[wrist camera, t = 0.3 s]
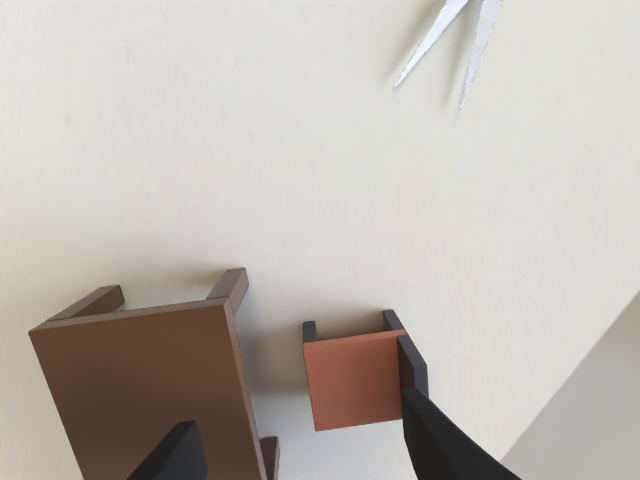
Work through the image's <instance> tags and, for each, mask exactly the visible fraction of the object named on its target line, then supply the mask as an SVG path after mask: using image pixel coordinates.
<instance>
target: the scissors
mask: <svg viewBox="0 0 640 480" xmlns="http://www.w3.org/2000/svg"><path fill="white" fill-rule="evenodd" d="M468 1H469V0H447V1H446V3H445V5H444V6H443V8H442V9H441V11H440V13H439V14H438V16H437V18H436V19H435V21H434V23H433V24H432V26H431V27H430V29H429V31H428V32H427V34H426V35H425V37H424V39H423V40H422V42H421V43H420V45H419V46H418V48H417V50H416V51H415V53H414V54H413V56H412V57H411V59H410V60H409V62H408V64H407V66H406V67H405V69H404V71H403V73H402V74H401V76H400V78H399V80H398V81H397V83H396V85H395V87H396V86H397V85H398V84H399V82H400V81H401V80H402V79H403V78H404V77H405V75H406V74H407V73H408V72H409V71H410V70H411V68H412V67H413V66H414V65H415V64H416V63H417V61H418V60H419V59H420V58H421V57H422V56H423V54H424V53H425V52H426V51H427V50H428V49H429V47H430V46H431V45H432V44H433V43H434V42H435V40H436V39H437V38H438V37H439V36H440V35H441V33H442V32H443V31H444V30H445V28H446V27H447V26H448V25H449V23H450V22H451V21H452V20H453V18H454V17H455V16H456V15H457V13H458V12H459V11H460V10H461V9H462V8H463V7H464V5H465V4H466V3H467V2H468ZM502 2H503V0H483V3H482V7H481V12H480V16H479V21H478V25H477V30H476V35H475V40H474V45H473V49H472V54H471V59H470V64H469V69H468V74H467V79H466V84H465V88H464V93H463V98H462V103H461V108H460V113H461V111H462V108H463V105H464V103H465V100H466V98H467V95H468V92H469V90H470V87H471V84H472V82H473V79H474V76H475V74H476V71H477V68H478V66H479V63H480V61H481V58H482V55H483V53H484V50H485V47H486V45H487V42H488V39H489V37H490V34H491V31H492V29H493V26H494V23H495V21H496V18H497V15H498V13H499V10H500V7H501V5H502ZM395 87H394V88H395ZM394 88H393V89H394ZM392 91H393V90H392ZM460 113H459V116H460ZM458 119H459V118H458Z"/></svg>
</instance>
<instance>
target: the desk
mask: <svg viewBox="0 0 640 480" xmlns="http://www.w3.org/2000/svg"><path fill="white" fill-rule="evenodd" d="M248 286H249V284H248V279H247V274H246V269H245V268H240V269H232V270H227V271H226V272H225V273H224V275H223V276H222V277H221V279H220V280H219V281H218V283H217V284H216V286H215V287H214V288H213V290H212V291H211V292H210V294H209V295H208V296H207V298H206V300H201V301H193V302H186V303H179V304H171V305H164V306H157V307H150V308H142V309H135V310H128V311H120V312H113V313H111V312H112V311H114V310H115V309H116V308H118V307H119V306H120V305H121V304H123V303H124V299H123V296H122V292H121V289H120V286H119V285H115V286H107V287H101V288H99V289H97V290H96V291H94V292H92V293H91V294H89V295H87V296H86V297H84V298H82V299H81V300H79V301H78V302H76V303H74V304H73V305H71V306H69V307H68V308H66V309H64V310H63V311H61V312H59V313H58V314H56V315H54V316H53V317H51V318H49V319H48V320H46V321H45V322H43V323H42V324H40V325H38V326H37V327H35V328H33V329H32V330H30V331H29V332H28V334H29V336H30V339H31V342H32V344H33V347H34V350H35V352H36V355H37V358H38V360H39V363H40V365H41V368H42V371H43V373H44V376H45V379H46V381H47V384H48V386H49V389H50V392H51V394H52V397H53V400H54V402H55V405H56V407H57V410H58V413H59V415H60V418H61V421H62V423H63V426H64V429H65V431H66V434H67V436H68V439H69V442H70V444H71V447H72V450H73V452H74V455H75V457H76V460H77V463H78V465H79V468H80V471H81V473H82V476H83V479H84V480H126V479H127V478H128V477H129V476H130V475H131V474H132V473H133V471H134V470H135V469H136V468H137V467H138V466H139V465H140V464H141V463H142V462H143V460H144V459H145V458H146V457H147V456H148V455H149V454H150V453H151V452H152V451H153V449H154V448H155V447H156V446H157V445H158V444H159V443H160V442H161V440H162V439H163V438H164V437H165V436H166V435H167V434H168V433H169V431H170V430H171V429H172V428H173V427H174V426H175V425H176V424H177V423H178V422H184V421H191V420H196V424H197V428H198V431H199V435H200V439H201V443H202V446H203V450H204V454H205V457H206V461H207V465H208V470H207V475H206V480H278V469H279V458H280V446H279V441H278V437H273V438H266V439H261V445H260V443H259V438H258V433H257V428H256V424H255V419H254V414H253V409H252V404H251V400H250V395H249V390H248V385H247V381H246V376H245V371H244V366H243V361H242V357H241V352H240V347H239V342H238V337H237V333H236V328H235V323H234V316H235V314H236V312H237V310H238V307H239V305H240V303H241V301H242V299H243V296H244V294H245V292H246V290H247V288H248Z"/></svg>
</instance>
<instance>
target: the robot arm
mask: <svg viewBox="0 0 640 480" xmlns="http://www.w3.org/2000/svg"><path fill="white" fill-rule="evenodd" d="M400 394H401V406H402V417H403V429H404V438H405V442H406V445H407V448H408V452H409V455H410V458H411V461H412V465H413V468H414V471H415V473H416V476H417V478H418V480H521V479H520V478H519V477H517V476H516V475H515V474H513V473H512V472H511V471H509V470H508V469H507V468H505V467H504V466H503V465H501V464H500V463H499V462H498V461H497V460H495V459H494V458H493V457H492V456H490V455H489V454H488V453H487V452H486V451H484V450H483V449H482V448H481V447H480V446H478V445H477V444H476V443H475V442H474V441H473V440H472V439H470V438H469V437H468V436H467V435H466V434H465V433H464V432H463V431H462V430H461V429H459V428H458V427H457V426H456V425H455V424H454V423H453V422H452V421H451V420H450V419H449V418H448V417H447V416H446V415H445V414H444V413H443V412H442V411H441V410H440V409H439V408H438V407H437V406H436V405H435V404H434V403H433V402H432V401H431V400H430V399H429V398H428V397H427V396H426V395H425V394H424V393H423V391H422V390H421V389H419V388H418V387H413V388H406V389H400ZM207 470H208V465H207V461H206V457H205V454H204V450H203V446H202V443H201V439H200V435H199V431H198V428H197V424H196V420H191V421H184V422H178V423H177V424H176V425H175V426H174V427H173V428H172V429H171V430H170V431H169V433H168V434H167V435H166V436H165V437H164V438H163V439H162V440H161V442H160V443H159V444H158V445H157V446H156V447H155V448H154V449H153V451H152V452H151V453H150V454H149V455H148V456H147V457H146V458H145V459H144V460H143V462H142V463H141V464H140V465H139V466H138V467H137V468H136V469H135V470H134V471H133V473H132V474H131V475H130V476H129V477H128V478H127V479H126V480H206V475H207Z"/></svg>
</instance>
